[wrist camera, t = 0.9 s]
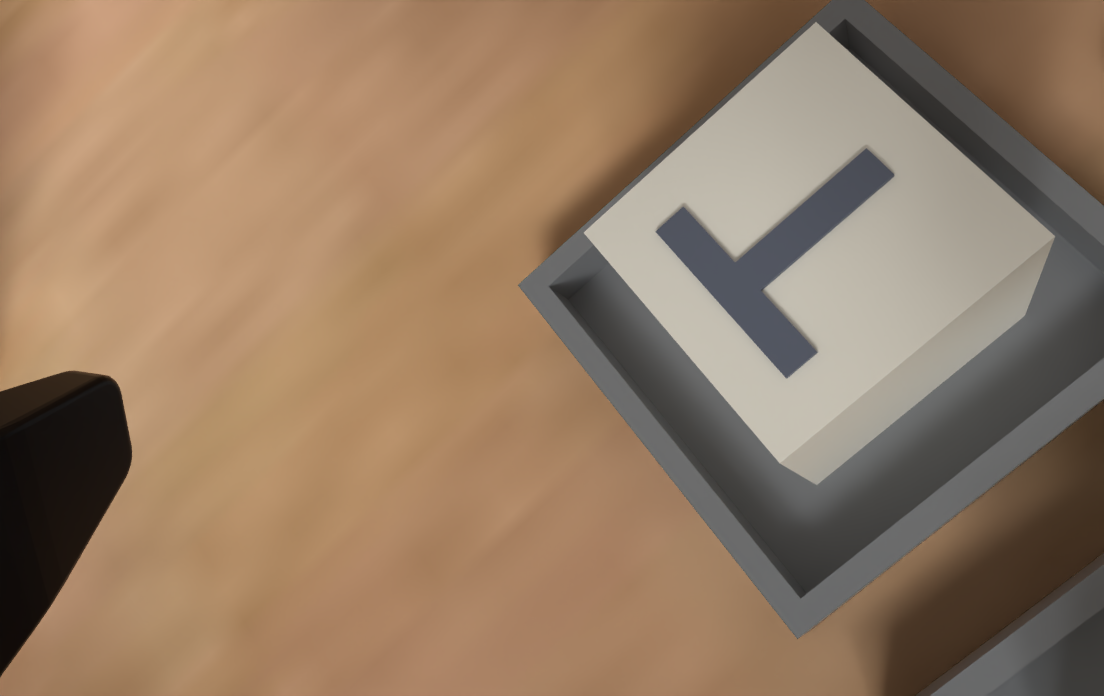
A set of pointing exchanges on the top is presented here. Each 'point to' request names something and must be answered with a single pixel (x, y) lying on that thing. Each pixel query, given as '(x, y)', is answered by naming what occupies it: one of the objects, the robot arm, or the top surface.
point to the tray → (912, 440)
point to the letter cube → (823, 254)
